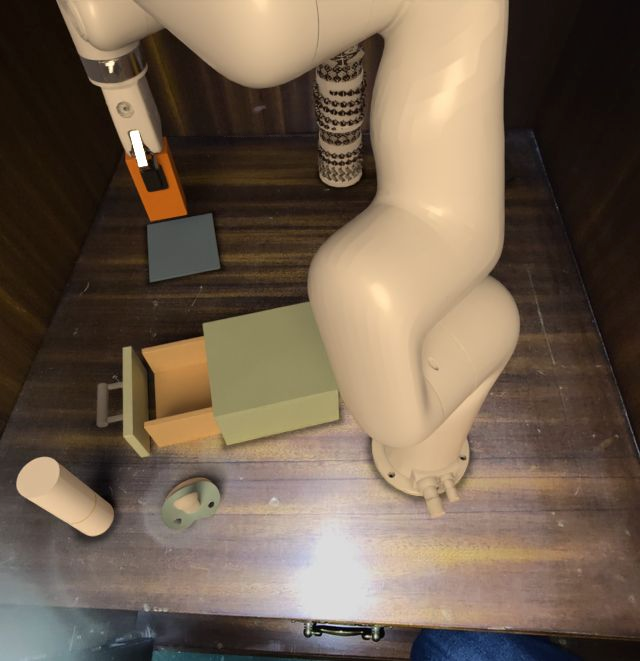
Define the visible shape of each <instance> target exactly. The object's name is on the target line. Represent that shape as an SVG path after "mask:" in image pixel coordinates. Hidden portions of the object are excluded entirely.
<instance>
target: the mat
mask: <svg viewBox="0 0 640 661" xmlns="http://www.w3.org/2000/svg"><path fill="white" fill-rule="evenodd" d="M215 230H216V229H215V224H214V217H213V213H212V212H209V213H205V214H197V215H193V216H187V217H182V218H177V219H172V220H166V221H162V222H156V223H155V222H154V223H151V224H150V223H149V224H147V225H146V231H147V232H146V234H147V254H148V274H149V276H148V277H149V283H155V282H159V281H165V280H170V279H174V278H181V277H184V276H190V275H195V274H200V273H205V272H211V271H215V270H221V261H220V255H219V249H218V242H217V237H216V231H215Z"/></svg>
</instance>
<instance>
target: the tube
mask: <svg viewBox="0 0 640 661" xmlns="http://www.w3.org/2000/svg"><path fill="white" fill-rule="evenodd" d="M15 482H16V486H15V487H16V490H17V492H18V493H19V494H20V495H21V496H22V497H24V498H25V499H27V500H28V501H30V502H32V503H34V504H35V505H37V506H38V507H40V508H42V509H43V510H45V511H46V512H48V513H50V514H51V515H52V516H55V518H57V519H59V520H61V521H63V522H64V523H66V524H68V525H70V526H71V527H73V528H74V529H76V530H77V531H79V532H80V533H82V534H84V535H86V536H89V537H97V536H99V535H102V534H104V533H105V532H106V531H107V530H108V529H109V528H110V527H111V525H112V524H113V521H114V518H115V511H114V508H113V506H112V504H111V503H109V502H108V501H107V500H105V498H103V497H101V495H99V494H98V493H97V492H96V491H94V490H93V489H92V488H90V486H88V485H87V484H86V483H85V482H83V481H82V480H80V479H79V478H78V477H76V475H74V474H73V473H72V472H71V471H69V470H68V469H67V468H65V467H64V466H63V465H62V464H61V463H59V462H58V461H57V460H56V459H54V458H52V457H49V456H41V457H36V458H34V459H32V460H30V461H29V462H28V463H26V464H25V465H24V466H23V467H22V468H21V470H20V471H19V473H18V474H17V478H16V481H15Z"/></svg>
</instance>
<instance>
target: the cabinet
mask: <svg viewBox="0 0 640 661" xmlns="http://www.w3.org/2000/svg"><path fill="white" fill-rule="evenodd" d="M202 331H203V336H204V340H205V348H206V357H207V365H208V374H209V382H210V390H211V399H212V407H213V416H214V419H215V421H216V423H217V425H218V427H219V429H220V431H221V436H222V438H223V439H224V442H225V444H226V446H229V445H234V444H235V445H236V444H240V443H244V442H249V441H253V440H256V439H260V438H265V437H269V436H274V435H278V434H282V433H287V432H291V431H295V430H300V429H304V428H309V427H313V426H317V425H321V424H326V423H331V422H335V421H338V420H339V421H340V406H339V405H340V401H339V389H338V386H337V384H336V381H335V378H334V375H333V372H332V369H331V366H330V363H329V360H328V357H327V354H326V351H325V348H324V345H323V342H322V339H321V336H320V333H319V330H318V327H317V324H316V321H315V318H314V315H313V312H312V308H311V304H310V301H304V302H300V303H294V304H291V305H286V306H285V305H284V306H281V307H276V308H272V309H271V308H270V309H266V310H261V311H256V312H252V313H251V312H250V313H246V314H241V315H237V316H232V317H227V318H223V319H218V320H212V321H207V322H203V323H202Z"/></svg>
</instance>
